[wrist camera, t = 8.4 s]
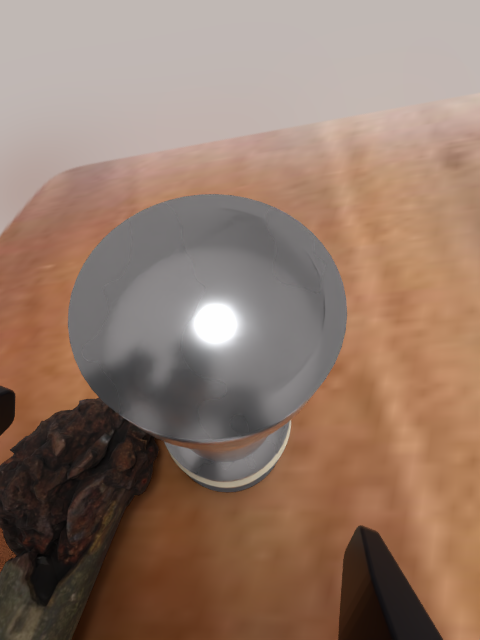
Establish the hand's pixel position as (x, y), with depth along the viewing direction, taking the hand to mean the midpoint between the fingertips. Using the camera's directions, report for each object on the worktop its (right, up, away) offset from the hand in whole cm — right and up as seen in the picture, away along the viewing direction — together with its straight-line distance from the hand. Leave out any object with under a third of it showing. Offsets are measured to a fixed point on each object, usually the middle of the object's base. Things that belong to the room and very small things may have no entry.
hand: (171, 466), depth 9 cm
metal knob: (+1, -1, +9) cm, 9 cm away
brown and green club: (-8, -9, +11) cm, 16 cm away
